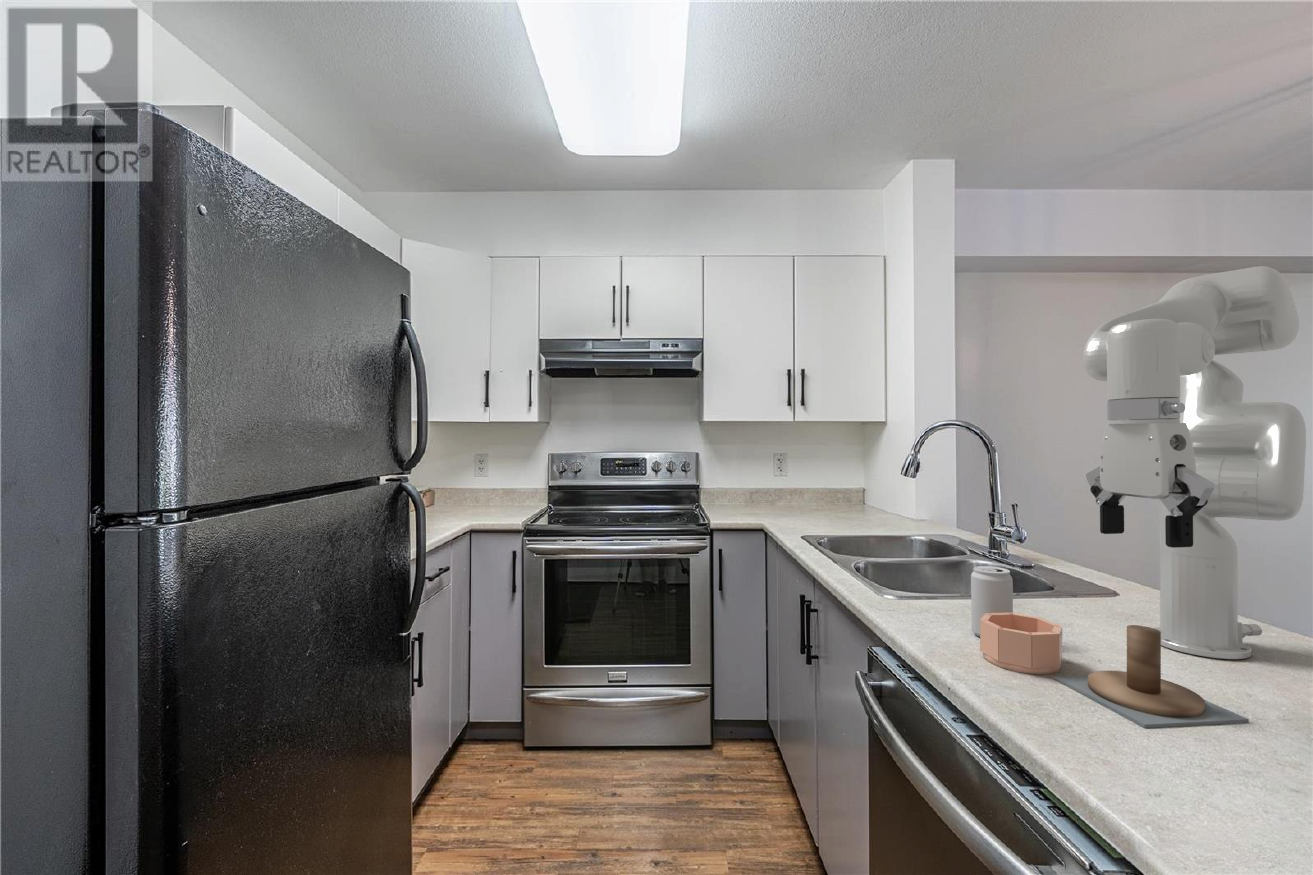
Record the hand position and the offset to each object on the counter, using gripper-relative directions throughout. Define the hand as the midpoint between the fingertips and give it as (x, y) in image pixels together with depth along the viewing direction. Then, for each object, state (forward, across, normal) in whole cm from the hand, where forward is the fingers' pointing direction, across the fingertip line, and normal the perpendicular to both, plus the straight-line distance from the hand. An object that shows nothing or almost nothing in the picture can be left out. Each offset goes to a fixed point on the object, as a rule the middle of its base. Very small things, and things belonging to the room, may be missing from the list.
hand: (1143, 539), depth 78 cm
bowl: (+22, +14, +8) cm, 27 cm away
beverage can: (+22, +25, +4) cm, 33 cm away
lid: (+21, 0, 0) cm, 21 cm away
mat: (+22, 0, 0) cm, 22 cm away
